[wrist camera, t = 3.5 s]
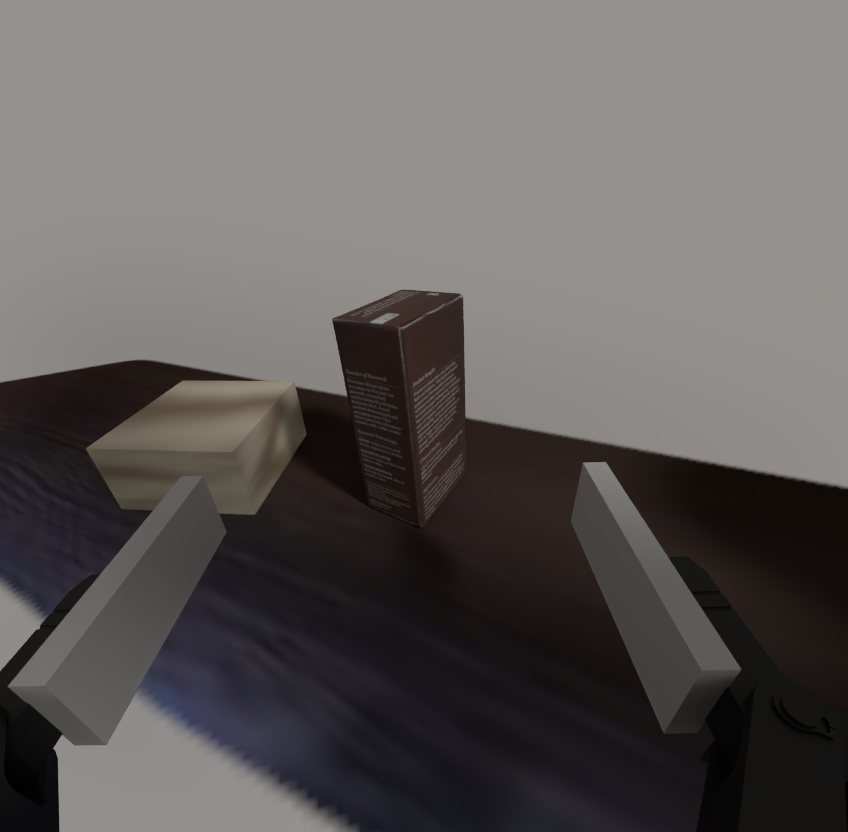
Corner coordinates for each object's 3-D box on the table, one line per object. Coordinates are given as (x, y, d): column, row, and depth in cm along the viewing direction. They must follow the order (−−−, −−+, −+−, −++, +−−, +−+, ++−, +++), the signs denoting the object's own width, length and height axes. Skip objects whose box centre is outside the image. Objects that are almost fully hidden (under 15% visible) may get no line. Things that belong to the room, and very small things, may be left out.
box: (412, 455, 29) (400, 286, 23) (468, 474, 27) (471, 293, 20) (359, 506, 24) (327, 314, 18) (421, 533, 22) (408, 326, 16)
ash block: (255, 517, 24) (232, 452, 22) (123, 512, 25) (85, 448, 23) (307, 436, 32) (294, 381, 29) (203, 434, 33) (182, 380, 30)
